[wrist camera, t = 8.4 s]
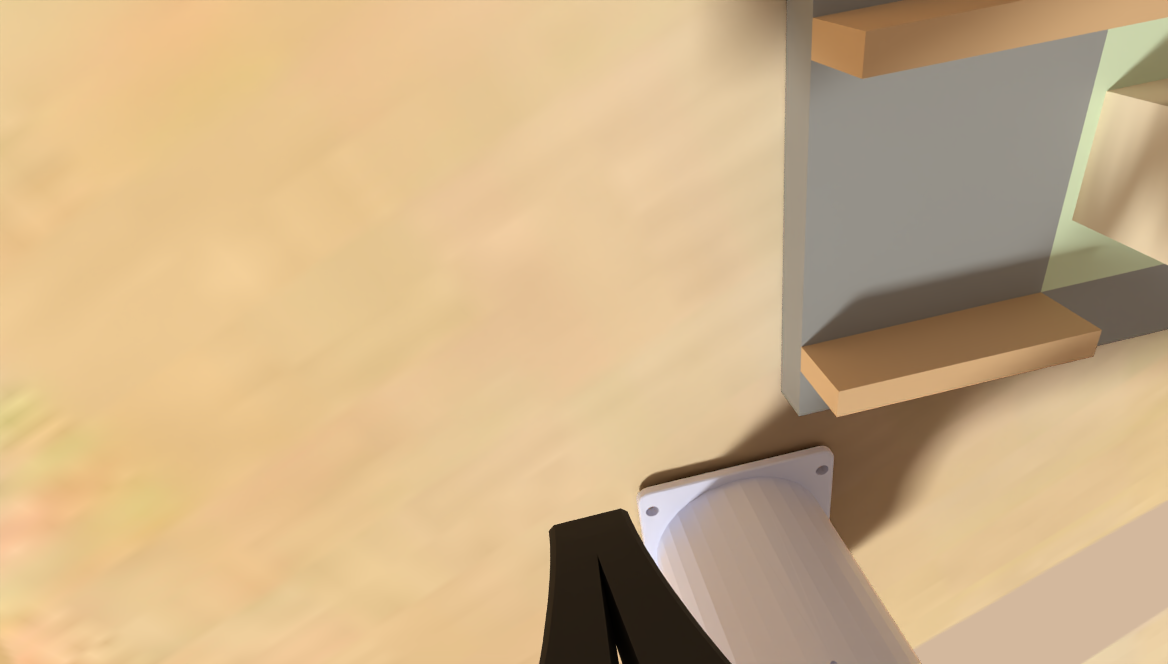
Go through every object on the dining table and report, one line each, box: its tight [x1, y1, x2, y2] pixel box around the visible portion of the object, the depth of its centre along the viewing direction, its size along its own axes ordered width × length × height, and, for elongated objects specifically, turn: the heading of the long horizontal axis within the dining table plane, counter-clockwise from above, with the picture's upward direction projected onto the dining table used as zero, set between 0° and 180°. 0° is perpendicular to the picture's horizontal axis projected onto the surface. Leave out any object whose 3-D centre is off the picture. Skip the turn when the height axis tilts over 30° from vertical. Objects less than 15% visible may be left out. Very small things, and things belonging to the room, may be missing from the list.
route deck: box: [781, 0, 1168, 417], centre depth 20 cm, size 15×20×4 cm
